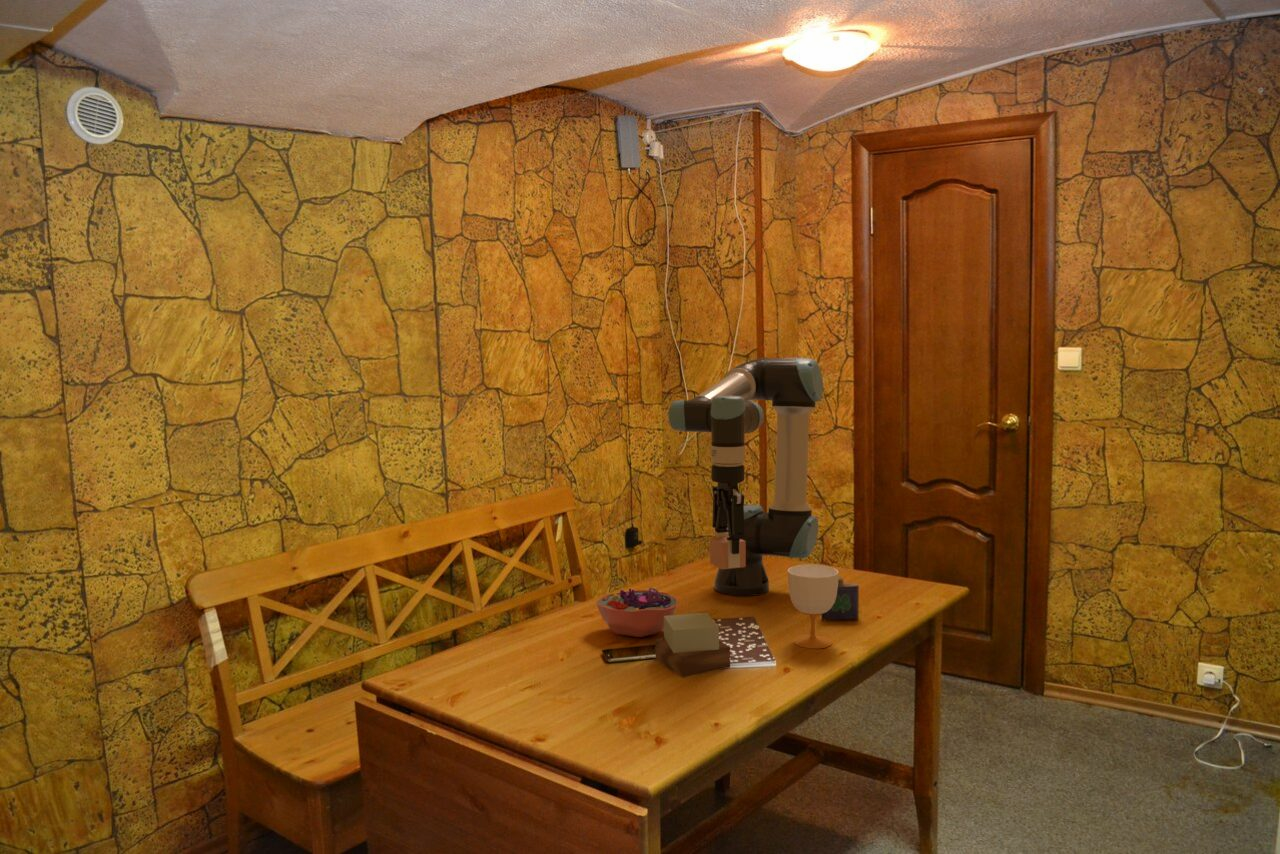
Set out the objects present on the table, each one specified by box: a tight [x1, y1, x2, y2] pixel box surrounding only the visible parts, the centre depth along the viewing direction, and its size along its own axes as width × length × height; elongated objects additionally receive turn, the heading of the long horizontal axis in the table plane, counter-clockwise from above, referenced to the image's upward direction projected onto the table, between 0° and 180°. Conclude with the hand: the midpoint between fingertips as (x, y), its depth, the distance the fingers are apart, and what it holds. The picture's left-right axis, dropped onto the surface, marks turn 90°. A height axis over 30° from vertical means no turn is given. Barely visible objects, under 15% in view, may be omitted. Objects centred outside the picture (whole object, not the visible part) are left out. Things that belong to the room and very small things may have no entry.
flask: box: [820, 576, 860, 622], centre depth 232 cm, size 9×3×11 cm, turn 88°
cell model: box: [595, 587, 679, 638], centre depth 224 cm, size 17×20×11 cm
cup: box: [787, 563, 840, 650], centre depth 216 cm, size 12×12×17 cm
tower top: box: [663, 612, 720, 653], centre depth 204 cm, size 10×10×5 cm
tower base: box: [654, 637, 731, 678], centre depth 204 cm, size 12×12×5 cm
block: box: [709, 536, 746, 569], centre depth 213 cm, size 6×6×6 cm
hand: (728, 563), depth 213 cm, fingers closed on block, 6 cm apart
